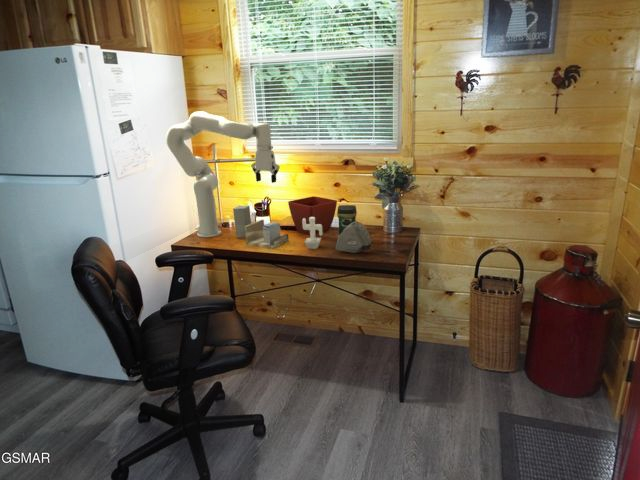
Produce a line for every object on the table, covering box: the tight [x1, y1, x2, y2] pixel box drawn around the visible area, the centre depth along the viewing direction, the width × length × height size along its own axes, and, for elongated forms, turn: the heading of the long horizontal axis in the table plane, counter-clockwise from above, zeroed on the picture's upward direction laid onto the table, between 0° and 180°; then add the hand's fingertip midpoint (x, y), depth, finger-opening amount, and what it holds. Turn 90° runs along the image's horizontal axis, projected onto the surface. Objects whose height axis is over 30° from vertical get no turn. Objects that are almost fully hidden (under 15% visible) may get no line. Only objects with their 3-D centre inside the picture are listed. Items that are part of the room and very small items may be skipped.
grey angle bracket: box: [245, 219, 289, 249], centre depth 234 cm, size 16×14×10 cm
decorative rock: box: [335, 220, 372, 254], centre depth 214 cm, size 16×7×15 cm, turn 74°
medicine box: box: [263, 221, 282, 243], centre depth 232 cm, size 8×4×9 cm, turn 143°
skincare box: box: [232, 205, 252, 239], centre depth 246 cm, size 8×7×16 cm
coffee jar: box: [336, 204, 358, 238], centre depth 230 cm, size 10×8×19 cm
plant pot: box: [287, 195, 338, 236], centre depth 249 cm, size 19×19×17 cm
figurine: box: [302, 217, 324, 250], centre depth 223 cm, size 7×9×15 cm
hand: (266, 181), depth 241 cm, fingers open, 9 cm apart
